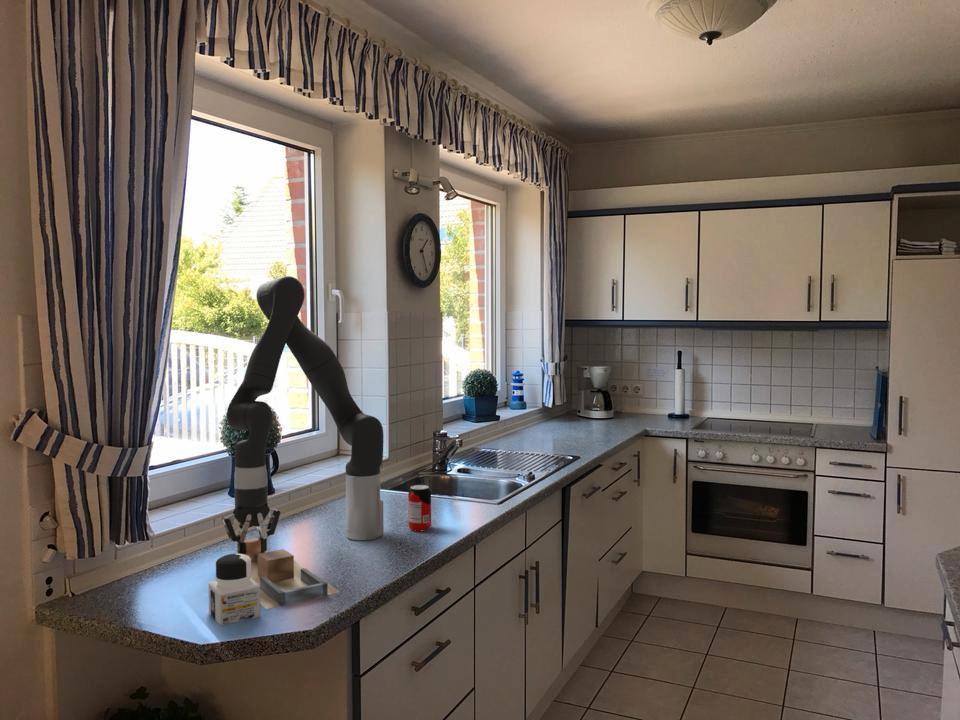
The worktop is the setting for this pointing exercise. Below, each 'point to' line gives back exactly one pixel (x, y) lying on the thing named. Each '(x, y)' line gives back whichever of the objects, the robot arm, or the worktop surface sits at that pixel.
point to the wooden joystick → (271, 561)
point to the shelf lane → (290, 587)
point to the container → (234, 590)
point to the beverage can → (419, 507)
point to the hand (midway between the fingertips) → (252, 554)
